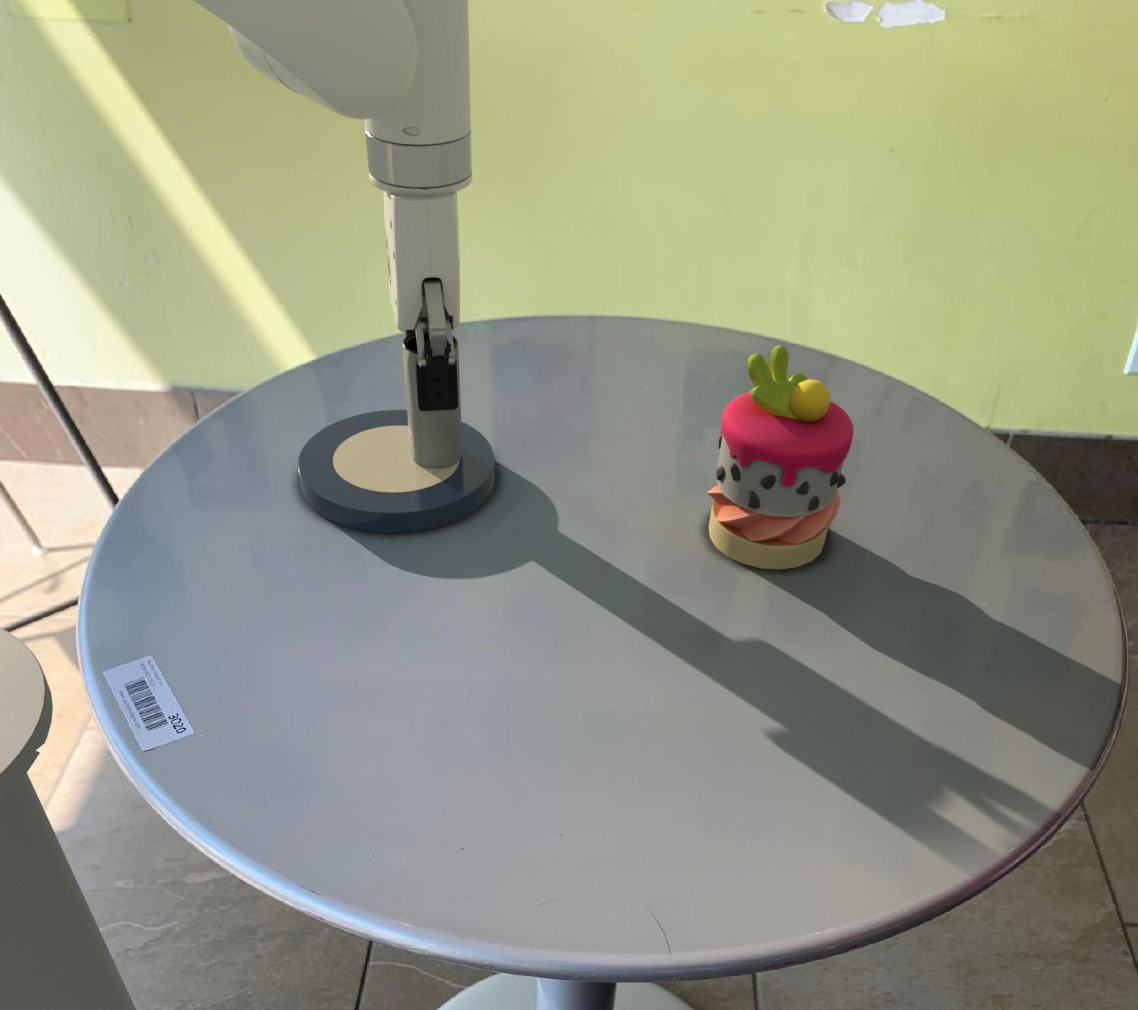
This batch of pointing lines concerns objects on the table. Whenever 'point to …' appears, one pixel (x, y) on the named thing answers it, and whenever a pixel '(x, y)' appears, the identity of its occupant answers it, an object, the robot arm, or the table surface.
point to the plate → (390, 476)
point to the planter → (430, 417)
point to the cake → (778, 468)
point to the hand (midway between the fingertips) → (431, 379)
